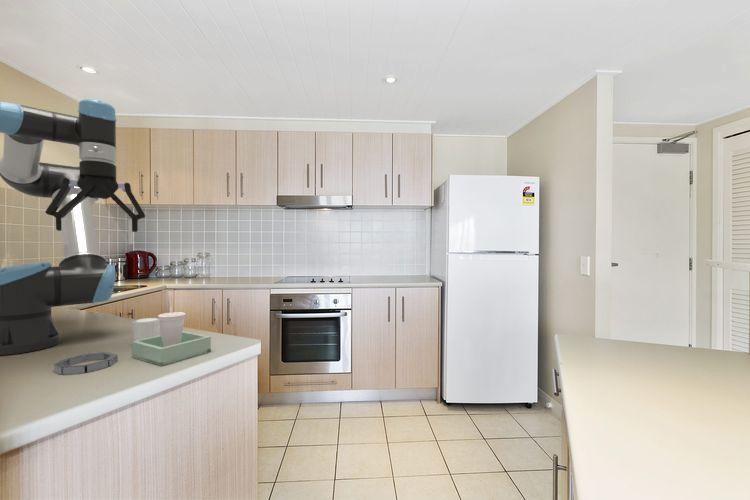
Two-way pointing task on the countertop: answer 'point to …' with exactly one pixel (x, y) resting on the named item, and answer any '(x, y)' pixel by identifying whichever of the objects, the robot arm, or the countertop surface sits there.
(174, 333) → the smoothie
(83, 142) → the robot arm
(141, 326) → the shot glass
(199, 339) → the bin
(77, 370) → the collar
